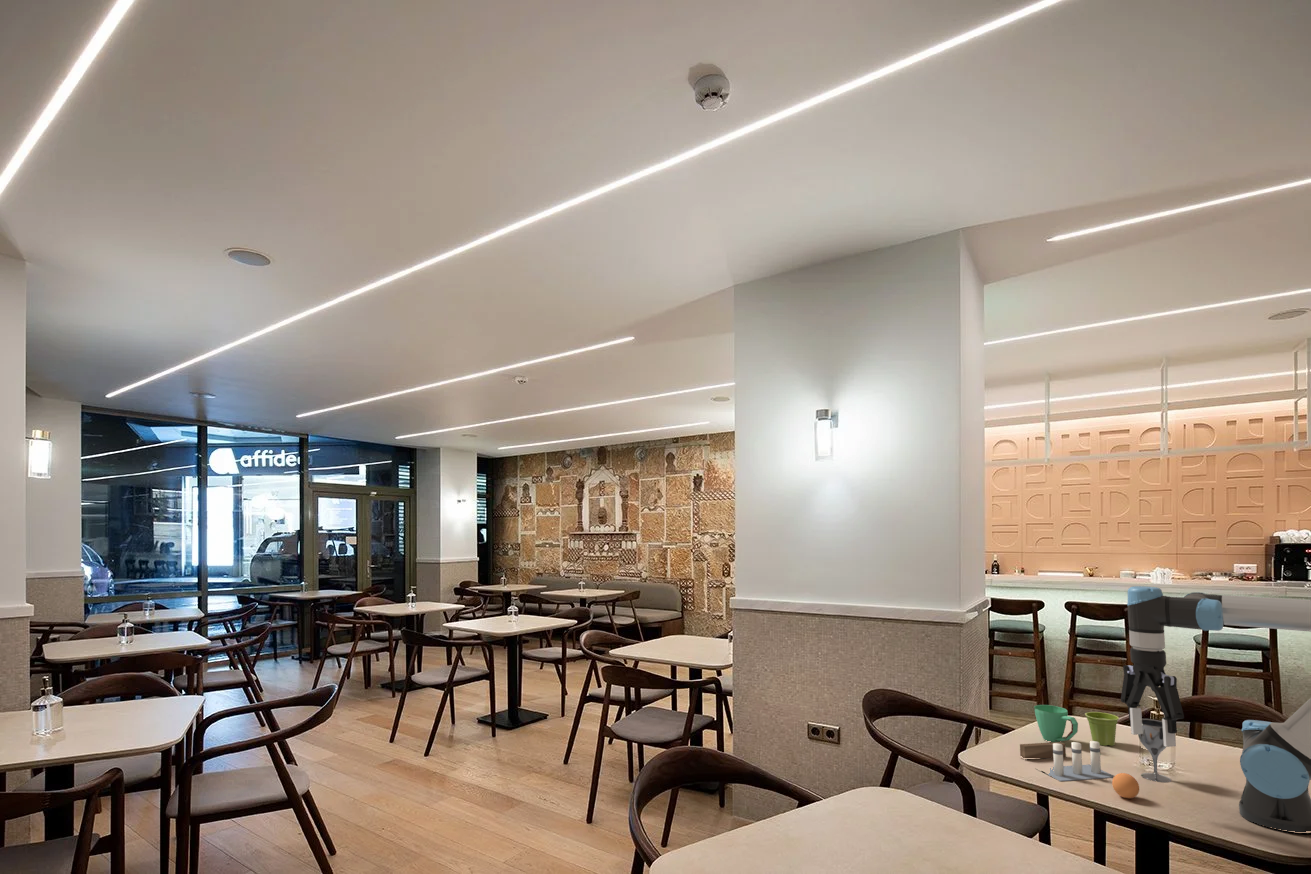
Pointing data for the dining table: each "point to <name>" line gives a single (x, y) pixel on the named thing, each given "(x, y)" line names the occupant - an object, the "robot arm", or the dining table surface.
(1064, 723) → the mug
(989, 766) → the dining table surface
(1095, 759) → the pin right
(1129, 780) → the brown egg
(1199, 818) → the dining table surface
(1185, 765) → the dining table surface
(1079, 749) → the pin middle
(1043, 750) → the back wall
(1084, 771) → the pin deck
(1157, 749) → the wine glass
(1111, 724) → the plant pot
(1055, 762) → the pin left
